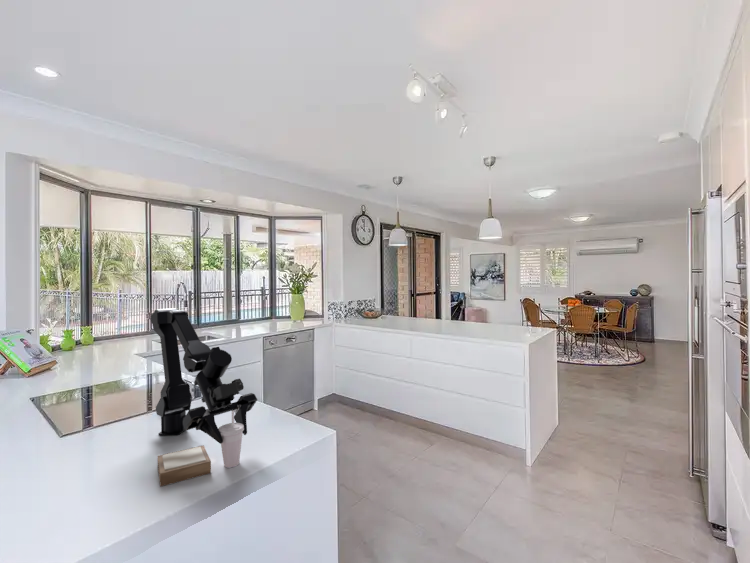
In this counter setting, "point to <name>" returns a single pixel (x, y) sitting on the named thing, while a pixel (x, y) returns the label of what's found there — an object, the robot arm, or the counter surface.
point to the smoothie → (231, 442)
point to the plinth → (183, 465)
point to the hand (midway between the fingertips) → (234, 438)
